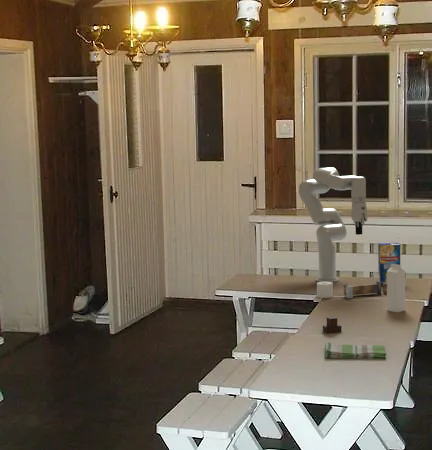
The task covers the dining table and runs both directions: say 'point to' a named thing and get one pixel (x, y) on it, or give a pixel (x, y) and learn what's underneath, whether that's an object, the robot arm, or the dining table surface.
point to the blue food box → (387, 258)
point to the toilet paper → (324, 289)
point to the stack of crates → (331, 326)
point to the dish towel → (354, 351)
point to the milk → (395, 288)
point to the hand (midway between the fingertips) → (358, 234)
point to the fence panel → (385, 288)
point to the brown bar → (362, 289)
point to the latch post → (349, 292)
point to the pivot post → (378, 287)
